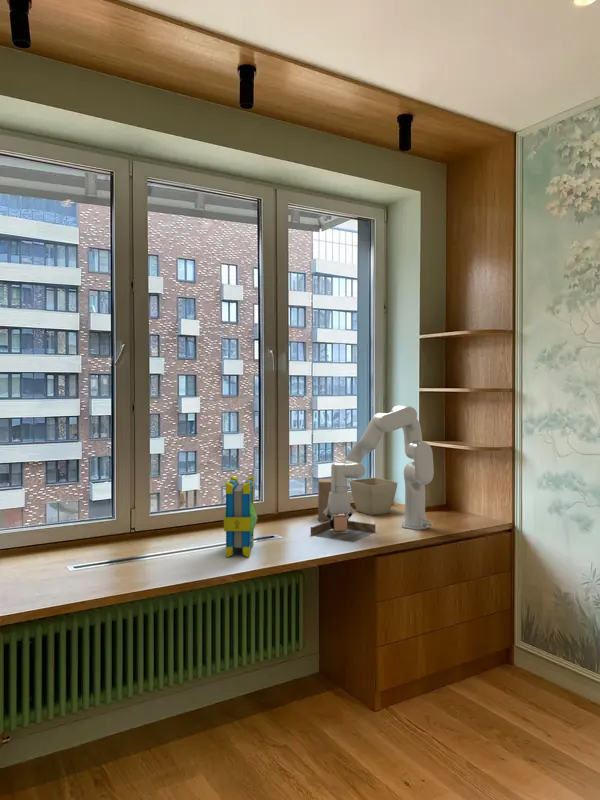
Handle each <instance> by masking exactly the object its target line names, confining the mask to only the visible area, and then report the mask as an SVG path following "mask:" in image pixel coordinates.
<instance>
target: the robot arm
mask: <svg viewBox="0 0 600 800" xmlns="http://www.w3.org/2000/svg"><path fill="white" fill-rule="evenodd" d="M421 427H422V426H421V424H420V421H419V420H418V412H417V410H416V409H415V407H413V406H410V405H409V406H408V405H400V404H398V405H395V406H393V407H392V409H391V411H390V412H388V413H385V412H377V413H375V414H374V415H373V416H372V418H371V419H370V421H369V423H368V425H367V427H366V429H365V430H364V432H363V435H362V436H361V438H360V439H359V441H358V442H357V443H355V445H354V446H353V447H352V448H351V450H350V451H349V453H348V454H347V456H346V458H345V460H344V462H333V463H332V464H331V466H330V467H331V468H330V470H331V471H330V477H331V478H330V479H331V492H329V498H328V507H327V508H326V509H325V510H324V511H323V513H324V514H325V515H326V516H327V517H328V518H329V519H330V527H331V528H332V529H334V520H333V518H334V515H335V514H338V515H345V516H346V517H347V528H348V521H349V519H350V518H351V517H352V516H353V514H355V513H356V510H355V509H354V508H353V507H352V506H351V499H350V493H349V490H351V487H350V485H348V479H352V480H357V479H362V478H363V477H364V475H365V473H366V468H365V466H364V465H363V464H362V463H361V462H362V461H363V459H364V457H366V455H368V454H369V453H371V452H373V451H374V450H376V449H377V448H378V446H379V444H380V442H381V440H382V438H383V436H384V435H385V433H389V432H393V431H396V430H399V429H401V428H402V431H403V442H404V453H405V456H406V457H407V458H408V459H411V460H413V461H410V462H408V463H407V464H406V465H405V466H404V468H403V469H404V470H403V479H404V493H405V494H404V508H405V509H404V522H402V523H401V527H402V528H404V529H407V530H415V531H416V530H419V531H420V530H426V529H428V528H429V527H432V526H433V525H434V522H433V521H432V520H428V518H427V517H426V486H425V485H428V484H430V483H431V482H432V481H433V478H434V474H435V471H434V470H435V469H434V467H435V466H434V452H433V449H432V447H431V445H430V443H428V442H426V441H423V435H422V428H421ZM327 512H330V515H329V514H328V513H327Z"/></svg>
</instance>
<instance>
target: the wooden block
mask: <svg viewBox="0 0 600 800" xmlns="http://www.w3.org/2000/svg"><path fill="white" fill-rule="evenodd" d="M317 488H318V490H317V492H318V494H317V496H318V497H317V498H318V502H317V503H318V504H317V505H318V509H317V512H318V514H317V515H318V517H317V518H318V519H317V520H318V521H319V522H327V521H329V520H330V519H329V518H328V517H327V516H326V515H325V514H324V513H323V511H324V510H325V509H326V508H327V507H328V498H329V492H331V478H319V479H318V487H317ZM327 513H328V514H329V515H330V512H327ZM335 515H339V514H335Z"/></svg>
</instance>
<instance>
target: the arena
mask: <svg viewBox="0 0 600 800" xmlns="http://www.w3.org/2000/svg"><path fill="white" fill-rule="evenodd" d="M376 531H377V530H376V523H375V524H374V523H368V522H361V521H354V520H348V528H347V530H341V531H334V530H333V529H332V528H331V527H330V520H329V521H323V522H322V523H319V524H316V525H314V526H311V527H310V536H312V537H318V538H324V539H329V540H334V541H336V540H337V541H342V542H349V543H356V542H358V541H359V540H362V539H364V538H366V537H368V536H371V535H372V534H375V533H376Z"/></svg>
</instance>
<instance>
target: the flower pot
mask: <svg viewBox="0 0 600 800" xmlns="http://www.w3.org/2000/svg"><path fill="white" fill-rule="evenodd" d="M349 486H350V491H351V492H350V493H351V496H352V499H353V502H354V506H355V508H356V511H357V512H360V513H363V514H366V515H369V516H374V515H383V514H388V513H390V510H391V509H392V506H393V503H394V499H395V496H396V494H397V493H396V492H397V489H398V482H396V481H393V480H388V479H385V478H379V477H368V478H359V479H350V480H349Z"/></svg>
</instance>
